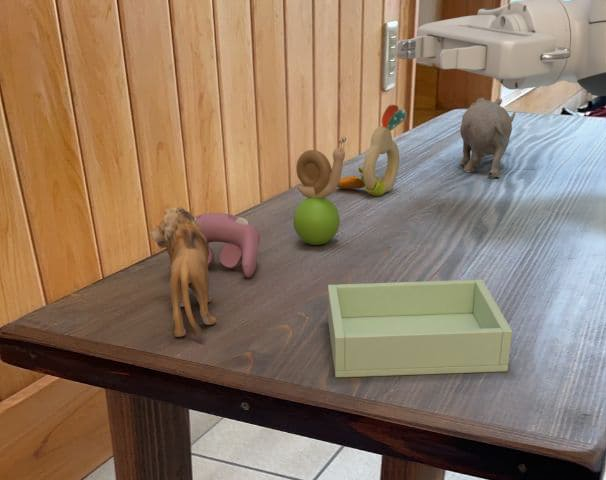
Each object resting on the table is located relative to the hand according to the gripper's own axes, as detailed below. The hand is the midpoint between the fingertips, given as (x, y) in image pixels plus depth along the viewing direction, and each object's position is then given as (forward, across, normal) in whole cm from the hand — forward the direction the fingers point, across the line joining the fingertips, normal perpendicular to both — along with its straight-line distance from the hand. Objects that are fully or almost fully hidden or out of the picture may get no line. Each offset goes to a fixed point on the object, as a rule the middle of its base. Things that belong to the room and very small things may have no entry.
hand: (417, 54), depth 94 cm
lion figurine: (+32, -15, -19) cm, 40 cm away
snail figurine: (+12, 0, -19) cm, 23 cm away
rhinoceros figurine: (-26, +26, -19) cm, 41 cm away
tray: (+16, -31, -19) cm, 40 cm away
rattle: (-4, +20, -19) cm, 28 cm away
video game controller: (+26, -4, -19) cm, 33 cm away
